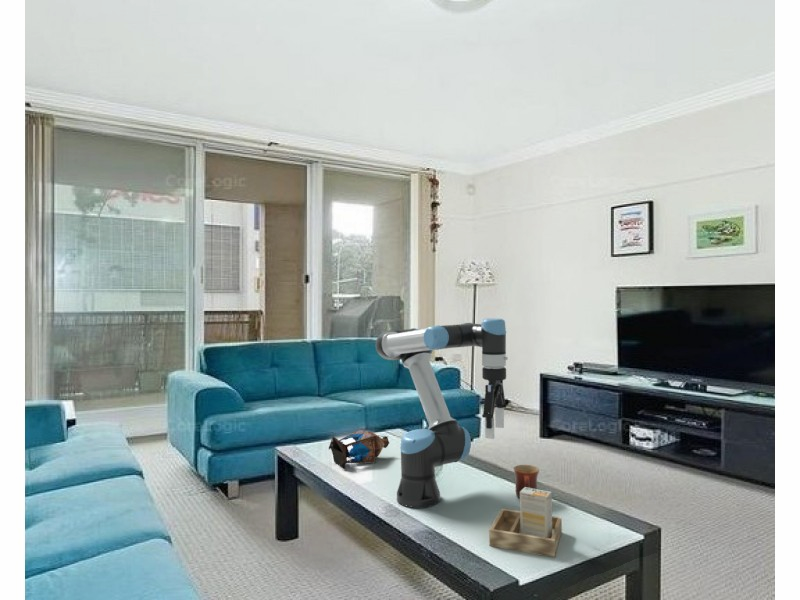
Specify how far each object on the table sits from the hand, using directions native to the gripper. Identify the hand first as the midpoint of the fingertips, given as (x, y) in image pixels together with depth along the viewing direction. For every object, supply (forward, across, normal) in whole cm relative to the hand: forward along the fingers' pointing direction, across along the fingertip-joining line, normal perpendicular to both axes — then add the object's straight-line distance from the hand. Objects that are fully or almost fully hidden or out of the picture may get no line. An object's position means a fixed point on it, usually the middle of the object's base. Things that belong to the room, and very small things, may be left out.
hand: (494, 432), depth 173 cm
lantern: (+27, +33, +66) cm, 78 cm away
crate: (+27, -13, -12) cm, 32 cm away
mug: (+27, +16, -7) cm, 32 cm away
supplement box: (+26, -13, -15) cm, 32 cm away
